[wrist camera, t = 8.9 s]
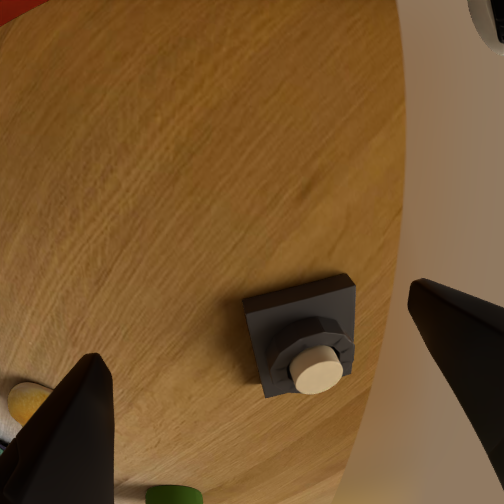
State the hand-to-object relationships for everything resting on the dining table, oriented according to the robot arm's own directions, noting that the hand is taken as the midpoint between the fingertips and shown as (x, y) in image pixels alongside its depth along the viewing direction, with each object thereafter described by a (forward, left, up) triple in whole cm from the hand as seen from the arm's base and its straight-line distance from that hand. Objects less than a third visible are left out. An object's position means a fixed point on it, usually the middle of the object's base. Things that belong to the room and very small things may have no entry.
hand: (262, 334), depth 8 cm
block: (-4, +13, -12) cm, 18 cm away
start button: (-4, +13, -9) cm, 16 cm away
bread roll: (+23, +17, -13) cm, 31 cm away
